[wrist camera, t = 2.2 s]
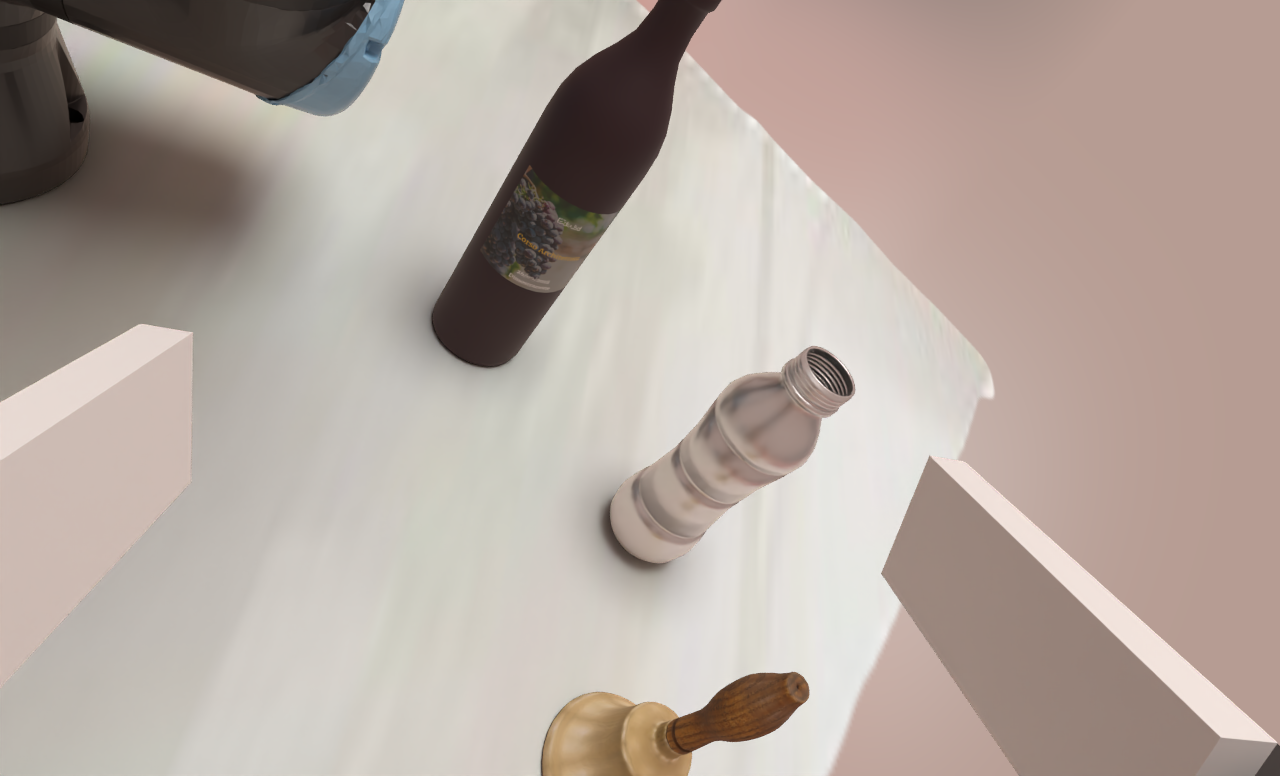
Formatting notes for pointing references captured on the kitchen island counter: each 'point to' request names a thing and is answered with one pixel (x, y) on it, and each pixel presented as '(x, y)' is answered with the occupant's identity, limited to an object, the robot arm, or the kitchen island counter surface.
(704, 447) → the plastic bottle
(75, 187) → the kitchen island counter surface
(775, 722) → the hand bell
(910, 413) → the kitchen island counter surface
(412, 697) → the kitchen island counter surface
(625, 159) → the wine bottle
